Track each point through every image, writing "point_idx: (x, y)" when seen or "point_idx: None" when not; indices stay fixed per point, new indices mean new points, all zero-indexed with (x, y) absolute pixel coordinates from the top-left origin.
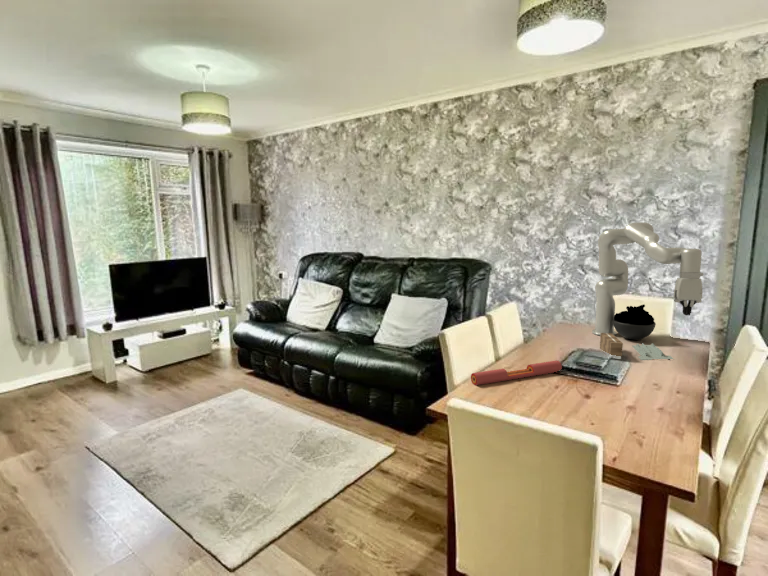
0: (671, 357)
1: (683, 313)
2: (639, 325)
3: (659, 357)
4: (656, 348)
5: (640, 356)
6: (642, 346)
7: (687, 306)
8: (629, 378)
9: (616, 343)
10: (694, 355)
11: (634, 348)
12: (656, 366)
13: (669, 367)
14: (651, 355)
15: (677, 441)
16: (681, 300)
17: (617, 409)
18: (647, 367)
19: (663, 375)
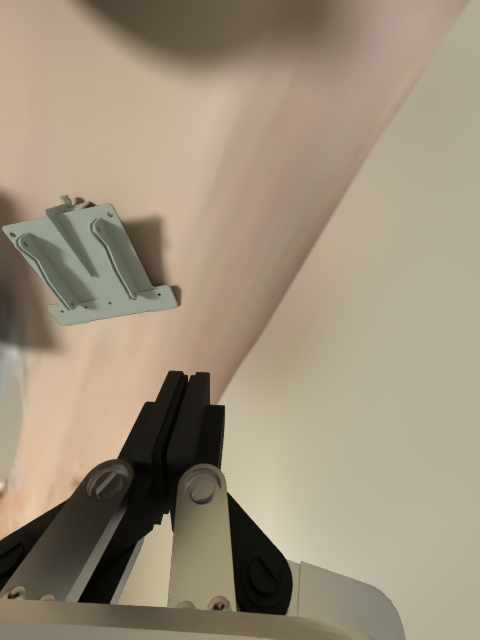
0: (171, 299)
1: (168, 378)
2: None
3: (126, 304)
4: (111, 265)
5: (55, 309)
6: (54, 228)
7: (175, 478)
8: (23, 461)
9: None
10: (285, 239)
11: (20, 252)
12: (101, 380)
13: (137, 384)
14: (97, 294)
15: None
16: (11, 587)
17: None
18: (73, 390)
19: (105, 439)
